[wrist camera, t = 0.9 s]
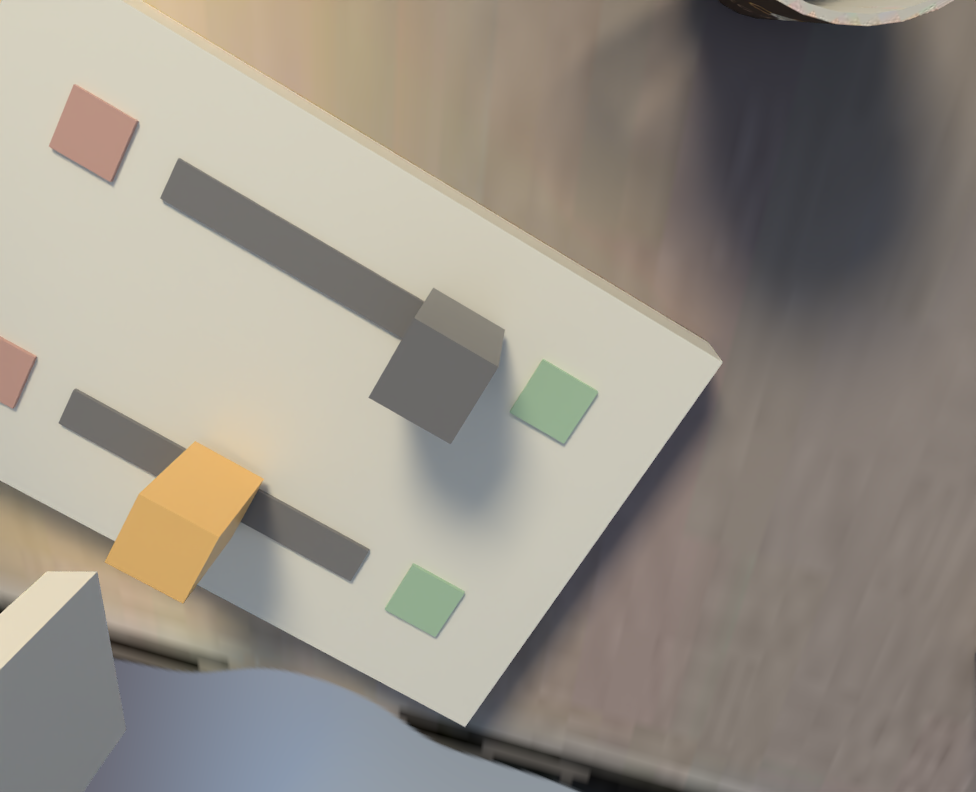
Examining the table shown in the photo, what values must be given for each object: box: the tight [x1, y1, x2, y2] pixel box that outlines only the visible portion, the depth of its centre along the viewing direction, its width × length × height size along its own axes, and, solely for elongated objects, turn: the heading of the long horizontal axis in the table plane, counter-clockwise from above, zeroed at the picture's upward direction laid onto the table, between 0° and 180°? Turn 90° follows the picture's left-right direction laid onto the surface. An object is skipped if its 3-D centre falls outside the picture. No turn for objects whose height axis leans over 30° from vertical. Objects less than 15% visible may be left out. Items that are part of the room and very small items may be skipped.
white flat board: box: [0, 0, 723, 727], centre depth 35 cm, size 28×19×3 cm
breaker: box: [368, 288, 505, 444], centre depth 30 cm, size 3×3×5 cm
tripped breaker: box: [105, 441, 264, 603], centre depth 32 cm, size 3×3×5 cm
